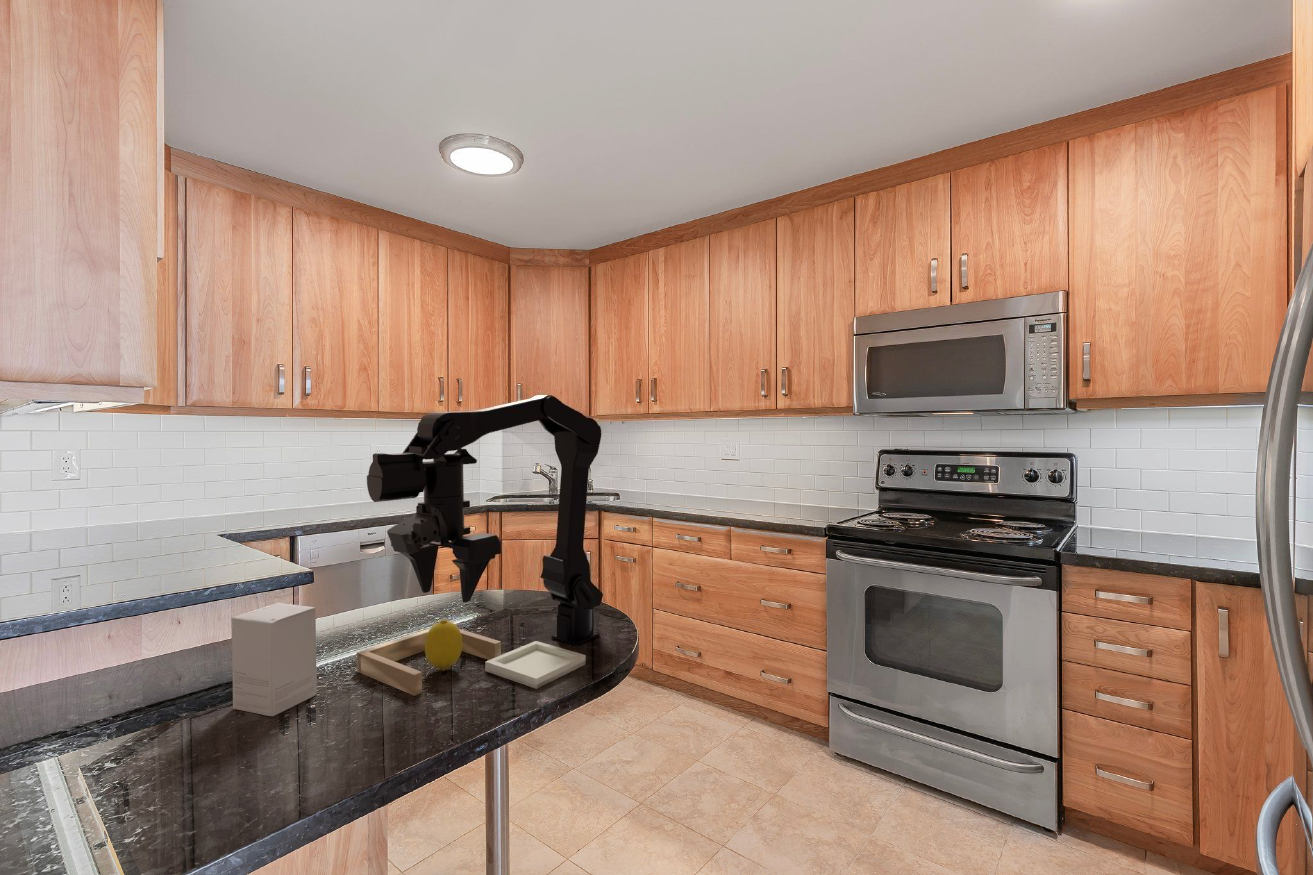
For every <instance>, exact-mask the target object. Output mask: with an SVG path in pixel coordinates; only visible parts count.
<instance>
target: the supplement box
mask: <svg viewBox="0 0 1313 875" xmlns="http://www.w3.org/2000/svg"><path fill="white" fill-rule="evenodd" d="M316 610H317V609H316V607H315V606H308V605H307V606H306V605H298V604H290V603H283V602H276V603H272V604H269V605H267V606H262V607H260V608H259V607H258V608H257V609H254V610H251V611H247V612H244V613H241V614H239V615H235V616H233V617H231V618H230V620H231V657H232V659H231V663H232V666H231V668H232V669H231V670H232V671H231V672H232V708H233V710H238V711H243V712H246V713H247V712H248V713H253V714H258V715H263V716H267V717H274V716H276V715H279V714H281V713H283V712H284V711H287V710H289V709H291V708H293V707H295V706H298V705H299V704H301V703H303V702H305V701H307V700H309V699H311V698H312V697H315V696H316V695H317V693H318V688H317V686H318V682H317V680H318V678H317V675H318V674H317V629H316V628H317V627H316V622H317V619H316V618H317V616H316V615H317V614H316V613H317V612H316Z"/></svg>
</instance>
